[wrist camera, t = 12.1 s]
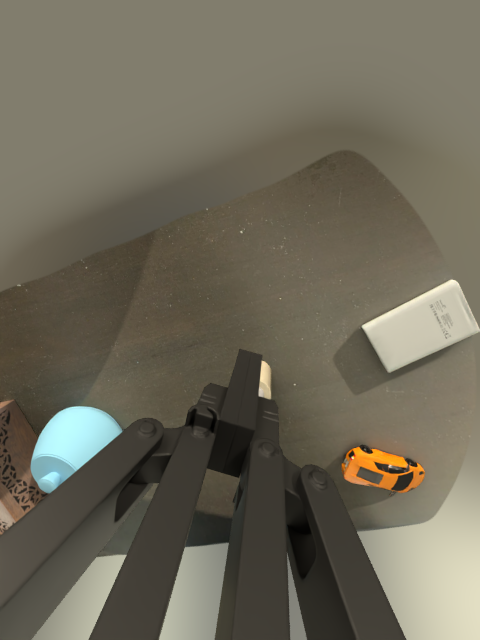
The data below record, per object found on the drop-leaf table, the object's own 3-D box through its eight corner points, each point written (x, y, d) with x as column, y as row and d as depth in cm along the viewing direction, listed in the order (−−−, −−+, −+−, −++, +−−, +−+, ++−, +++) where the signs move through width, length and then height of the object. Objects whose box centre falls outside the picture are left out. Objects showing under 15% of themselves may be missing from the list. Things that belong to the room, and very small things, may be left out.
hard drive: (359, 324, 38) (450, 278, 34) (384, 368, 39) (473, 328, 36) (363, 328, 36) (458, 281, 33) (389, 374, 38) (482, 333, 34)
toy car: (361, 497, 48) (367, 515, 45) (330, 452, 46) (334, 468, 42) (427, 477, 45) (439, 495, 42) (398, 426, 42) (408, 442, 39)
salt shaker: (250, 353, 41) (245, 380, 34) (277, 368, 41) (278, 398, 34) (235, 376, 43) (227, 406, 36) (261, 391, 43) (258, 423, 36)
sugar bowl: (51, 440, 53) (-6, 493, 42) (69, 387, 48) (9, 433, 37) (116, 473, 54) (77, 534, 43) (141, 424, 49) (103, 480, 38)
